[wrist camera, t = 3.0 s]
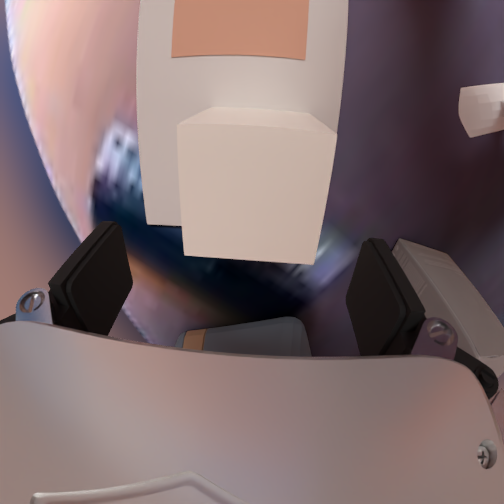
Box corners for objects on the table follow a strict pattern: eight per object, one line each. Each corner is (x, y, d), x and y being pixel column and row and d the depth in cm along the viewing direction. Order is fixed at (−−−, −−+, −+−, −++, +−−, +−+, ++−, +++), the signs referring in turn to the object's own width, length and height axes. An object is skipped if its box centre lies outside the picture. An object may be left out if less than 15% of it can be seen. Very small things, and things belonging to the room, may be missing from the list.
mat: (346, -42, 11) (348, -45, 10) (318, 232, 26) (319, 236, 25) (149, -43, 11) (146, -46, 10) (149, 221, 26) (146, 224, 25)
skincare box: (370, 282, 29) (413, 415, 16) (401, 228, 25) (479, 360, 12) (423, 295, 30) (470, 405, 17) (454, 249, 26) (524, 358, 13)
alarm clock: (173, 325, 34) (141, 438, 21) (301, 305, 31) (312, 441, 18) (219, 386, 43) (207, 473, 30) (317, 375, 40) (325, 470, 27)
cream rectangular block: (309, 113, 19) (337, 134, 12) (299, 200, 23) (313, 264, 16) (212, 107, 19) (176, 124, 12) (211, 194, 23) (184, 255, 16)
